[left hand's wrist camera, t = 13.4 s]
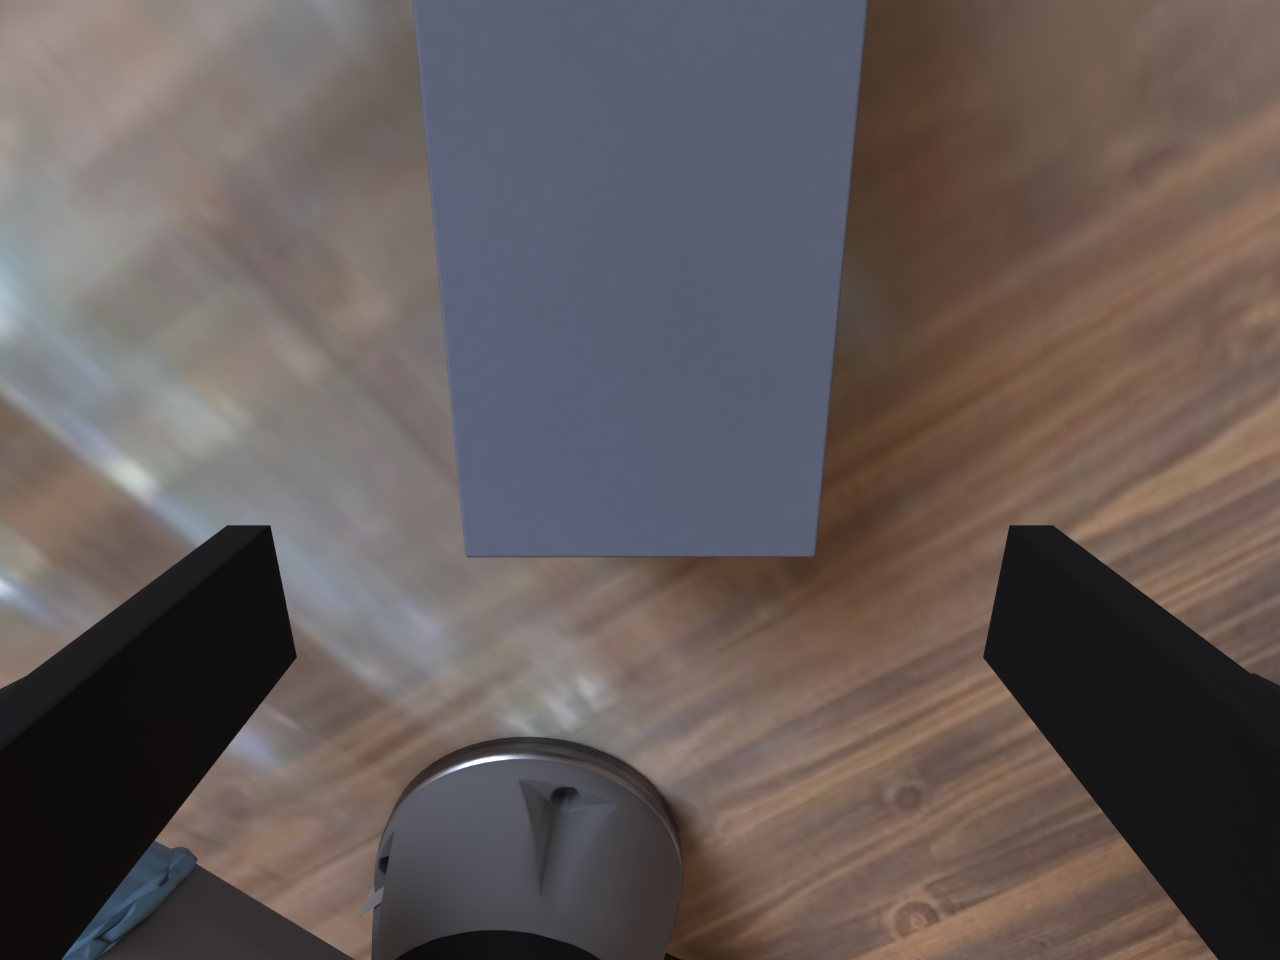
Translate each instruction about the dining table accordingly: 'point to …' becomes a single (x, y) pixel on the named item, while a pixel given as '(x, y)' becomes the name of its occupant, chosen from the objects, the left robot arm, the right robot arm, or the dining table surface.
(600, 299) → the cabinet
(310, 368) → the dining table surface
